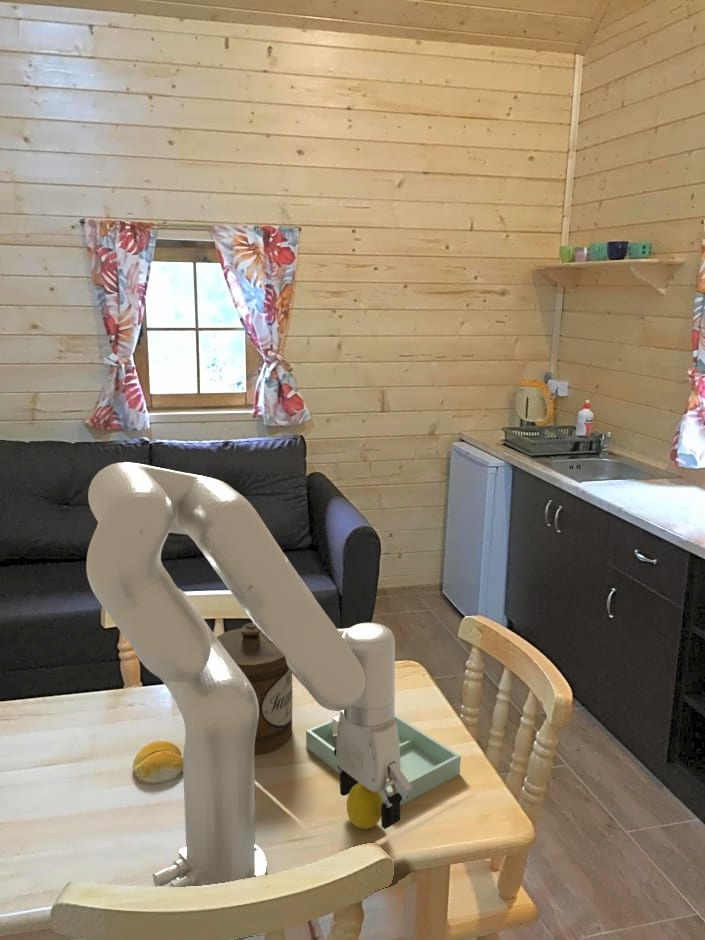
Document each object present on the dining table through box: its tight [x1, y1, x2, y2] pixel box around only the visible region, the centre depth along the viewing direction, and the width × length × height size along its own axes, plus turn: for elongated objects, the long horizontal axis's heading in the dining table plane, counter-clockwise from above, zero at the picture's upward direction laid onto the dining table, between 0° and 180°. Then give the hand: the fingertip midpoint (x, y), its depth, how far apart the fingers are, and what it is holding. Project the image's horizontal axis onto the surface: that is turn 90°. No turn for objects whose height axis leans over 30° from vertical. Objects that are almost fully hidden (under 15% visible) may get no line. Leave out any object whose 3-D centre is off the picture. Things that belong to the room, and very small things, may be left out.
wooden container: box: [216, 622, 293, 757], centre depth 144 cm, size 15×15×22 cm
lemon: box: [346, 783, 383, 830], centre depth 121 cm, size 6×6×8 cm
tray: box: [305, 714, 462, 807], centre depth 138 cm, size 16×22×4 cm
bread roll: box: [132, 740, 183, 785], centre depth 136 cm, size 8×9×4 cm
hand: (369, 807), depth 122 cm, fingers open, 9 cm apart
